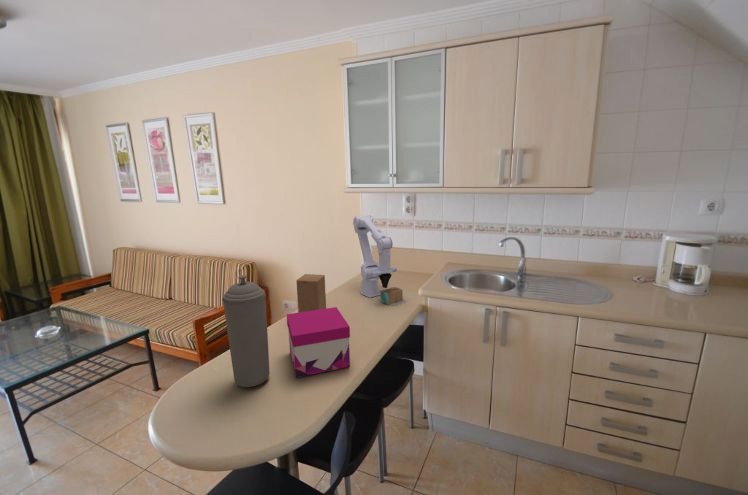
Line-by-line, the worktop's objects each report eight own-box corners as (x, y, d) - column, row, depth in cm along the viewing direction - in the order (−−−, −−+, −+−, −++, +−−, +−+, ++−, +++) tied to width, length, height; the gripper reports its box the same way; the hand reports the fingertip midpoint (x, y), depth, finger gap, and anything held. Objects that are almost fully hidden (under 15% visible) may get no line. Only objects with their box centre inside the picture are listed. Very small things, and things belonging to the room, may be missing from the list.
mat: (378, 300, 180) (378, 299, 179) (394, 295, 186) (394, 295, 186) (393, 307, 170) (393, 306, 170) (409, 302, 177) (409, 301, 177)
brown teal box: (380, 290, 175) (394, 286, 181) (380, 301, 176) (395, 297, 182) (387, 293, 171) (402, 289, 176) (387, 304, 172) (402, 300, 178)
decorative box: (337, 342, 135) (336, 307, 132) (350, 367, 117) (349, 326, 114) (289, 351, 129) (286, 314, 126) (295, 378, 111) (292, 336, 108)
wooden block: (319, 323, 152) (317, 281, 148) (298, 322, 154) (295, 280, 150) (326, 314, 162) (325, 274, 158) (307, 313, 164) (304, 273, 160)
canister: (237, 395, 103) (225, 285, 95) (227, 376, 113) (215, 275, 106) (278, 380, 110) (269, 276, 103) (265, 363, 120) (256, 268, 113)
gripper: (378, 265, 163) (378, 292, 165) (400, 260, 171) (400, 286, 174) (369, 262, 168) (369, 289, 171) (391, 258, 177) (391, 283, 179)
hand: (384, 287), depth 173 cm, fingers closed
